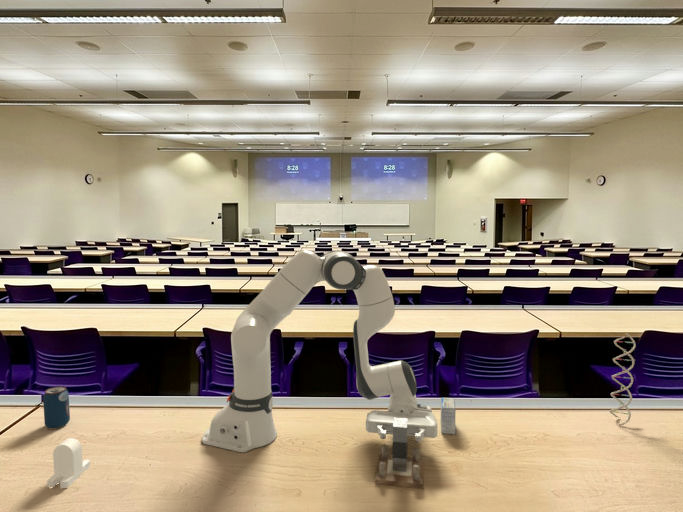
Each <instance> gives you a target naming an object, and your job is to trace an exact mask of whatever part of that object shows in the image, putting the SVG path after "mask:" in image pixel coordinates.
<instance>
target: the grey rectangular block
mask: <svg viewBox="0 0 683 512" xmlns="http://www.w3.org/2000/svg"><path fill="white" fill-rule="evenodd" d="M391 450H392V451H391V452H392V454H391V455H392V458H393V471H402V472H406V465H407V457H408V436H407V418H396V417H394V422H393V434H392V449H391Z"/></svg>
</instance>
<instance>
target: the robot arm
mask: <svg viewBox="0 0 683 512" xmlns="http://www.w3.org/2000/svg"><path fill="white" fill-rule="evenodd" d="M382 269H383V268H381V267H380V266H377V265H374V264H368V265H362V264H361V263H360V262H359V261H358V260H357V259H356V258H355V257H354V256H353V255H352V254H350V253H349V252H347V251H343V250H332V251H329V252H326V253H324V254H321V255H318V254H316V253H315V252H313V251H311V250H307V249H304V250H301V251H299V252H297V253H296V254H295V255H294V256H292V257H291V258H290V259H289V260H288V261H287V262H286V263H285V264H284V265H283V266H282V267H281V269H280V270H279V271H277V273H276V274H275V275H274V277H273V278H272V279H271V280H270V281H269V283H268V284H266V285H265V287H264V289H263V290H262V291H261V292H259V294H258V295H257V296H256V297H255V298H253V300H252V301H251V302H250V303H249V304H248V305H247V307H245V309H244V310H243V311H242V312H241V313H240V314H239V315H238V317H237V319H236V321H235V324H234V325H233V328H232V331H231V333H230V343H231V354H232V365H233V380H234V381H233V385H234V386H233V389H232V392H230V393H229V394H228V397H227V398H226V403H228V404H226V405H225V406H224V407H222V408H221V409H220V410H219V411H217V413H216V414H215V415H214V416H213V417H212V420H211V421H210V422H211V423H210V426H209V427H208V428H207V429H206V430H205V431H204V433H203V434H202V438H201V442H202V444H204V445H208V446H212V447H216V448H221V449H226V450H229V451H234V452H237V453H246V452H249V451H250V450H253V449H256V448H260V447H264V446H266V445H269V444H271V443H272V442H273V441H274V440H275V439H276V438H277V435H278V434H277V433H278V431H277V430H276V427H275V426H276V425H275V422H274V416H273V406H274V397H273V391H272V385H271V384H272V381H271V380H272V376H271V375H272V371H271V368H272V365H271V340H270V339H271V334H272V332H273V330H274V329H275V328H276V327H277V326H279V325H280V324H281V322H282V321H283V320H285V319H286V318H288V316H289V315H291V314H292V312H293V311H294V310H295V309H296V308H297V307H298V305H299V304H300V303H301V302H302V301H303V299H304V298H305V297H306V296H307V295H308V294H309V293H310V291H311V290H312V288H313V287H314V286H316V285H317V284H318V283H321V282H326V283H327V284H328V285H329V286H330V287H332V289H333V288H334V289H336V290H342V291H343V290H347V291H348V290H351V291H353V292H354V295H355V297H356V301H357V305H358V318H357V319H356V320H355V321H354V322H353V328H352V332H353V334H352V335H353V348H354V349H353V350H354V357H355V358H354V359H355V367H356V368H355V369H356V378H355V379H356V380H355V381H356V389H357V391H358V394H359V395H360V396H362V397H363V398H364V399H367V400H369V401H371V400H374V399H378V398H380V397H385V396H389V401H388V407H387V411H386V410H372V411H370V412H368V413H367V414H366V417H365V431H366V432H368V433H370V434H371V433H374V434H378V435H379V439H380V440H386V438H387V435H393V422H394V417H396V418H407V437H414V438H415V440H414V441H415V443H421V442H422V440H424V439H425V438H429V439H430V438H431V439H436V437H438V422H437V417H436V416H435V415H434V414H433V411H432V407H431V406H428V405H423V404H420V403H418V402H417V401H418V400H417V396H416V393H417V390H418V387H417V385H418V383H417V380H416V376H415V375H416V374H415V372H414V370H413V368H412V366H411V365H410V364H409V363H407V361H404V360H397V361H392V362H387V363H382V364H377V365H371V364H370V363H369V351H368V341H369V339H370V338H371V337H372V336H374V335H375V334H376V333H378V332H379V331H381V330H383V329H384V328H385V327H386V326H388V325H389V324H390V323H391V321H392V320H393V318H394V316H395V313H396V309H395V301H394V297H393V293H392V290H391V288H390V285H389V282H388V279H387V276H386V275H385V273H384V271H383V270H382Z"/></svg>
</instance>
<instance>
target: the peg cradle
mask: <svg viewBox="0 0 683 512" xmlns="http://www.w3.org/2000/svg"><path fill="white" fill-rule="evenodd" d="M388 448H389V446H388V444H385V443H384V444H382V445H381V453H378V458H377V459H378V460H377V465H376V472H375V478H374V480H375V481H374V483H375V485H376V484H377V485H384V486H385V485H386V486H393V487H394V486H395V487H404V488H413V489H424V488H423V484H424V482H423V481H424V480H423V478H424V477H423V458H422V457H420V448H419V447H417V446H414V447H413V448H412V456H407V465H406V472H402V471H393V458H392V454H388V451H389V449H388Z"/></svg>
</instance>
